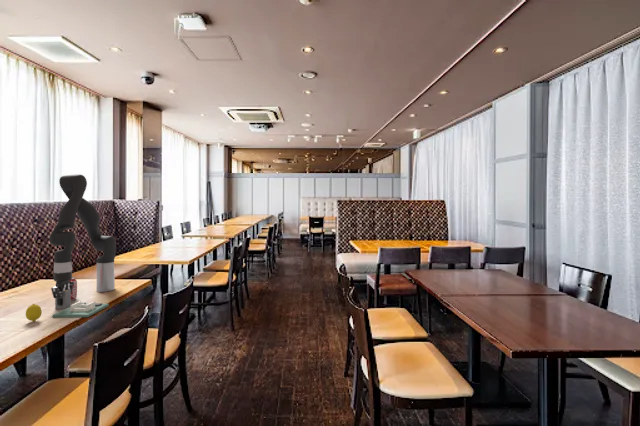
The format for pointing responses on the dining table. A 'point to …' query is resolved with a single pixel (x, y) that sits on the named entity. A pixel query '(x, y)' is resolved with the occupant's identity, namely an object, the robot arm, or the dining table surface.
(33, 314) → the lemon
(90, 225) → the robot arm
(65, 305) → the plug
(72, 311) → the board
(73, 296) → the soda can
